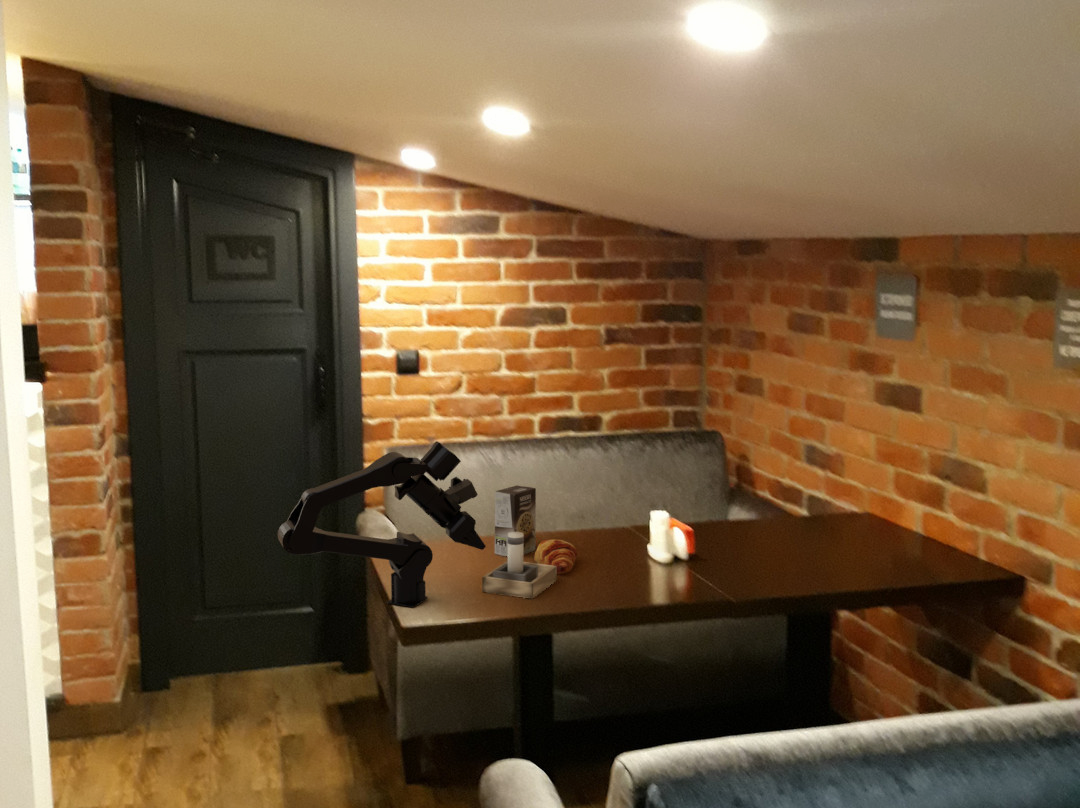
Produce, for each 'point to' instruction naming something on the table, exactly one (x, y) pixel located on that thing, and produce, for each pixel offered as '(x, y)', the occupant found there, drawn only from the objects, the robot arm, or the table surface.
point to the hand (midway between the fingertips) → (478, 542)
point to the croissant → (556, 555)
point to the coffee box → (515, 517)
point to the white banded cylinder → (515, 552)
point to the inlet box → (520, 580)
